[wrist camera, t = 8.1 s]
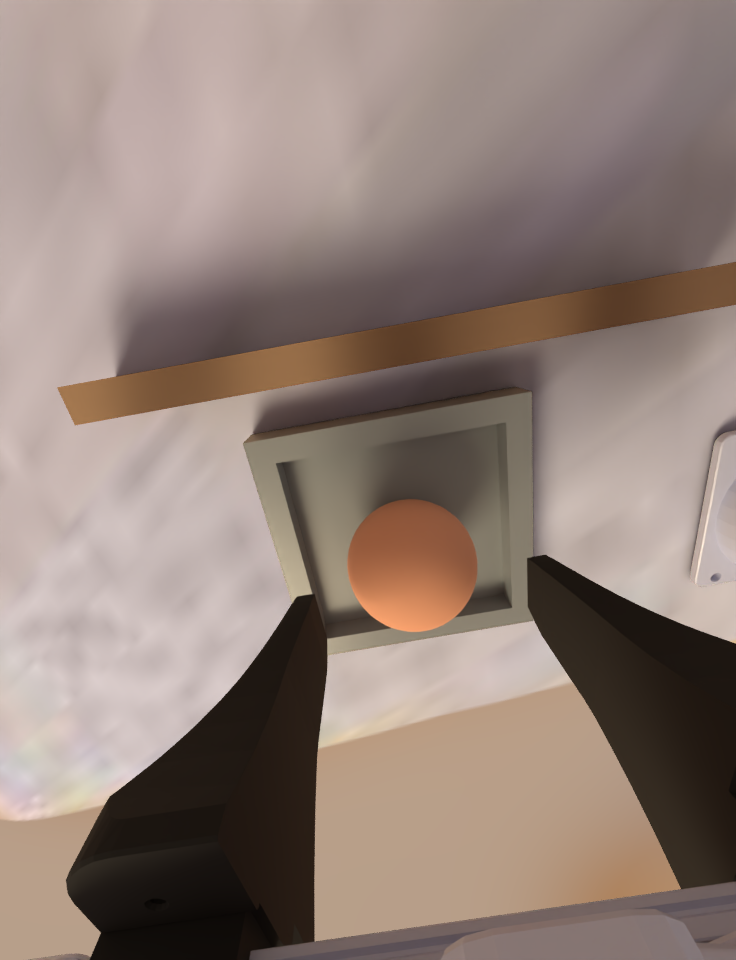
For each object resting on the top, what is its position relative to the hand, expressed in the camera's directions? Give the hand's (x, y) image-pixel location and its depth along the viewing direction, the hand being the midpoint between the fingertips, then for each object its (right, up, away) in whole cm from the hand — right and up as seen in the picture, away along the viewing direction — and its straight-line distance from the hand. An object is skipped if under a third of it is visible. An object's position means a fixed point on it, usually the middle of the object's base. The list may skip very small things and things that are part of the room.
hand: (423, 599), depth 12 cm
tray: (0, +2, +5) cm, 5 cm away
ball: (0, +1, +2) cm, 2 cm away
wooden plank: (-1, +9, +2) cm, 10 cm away
